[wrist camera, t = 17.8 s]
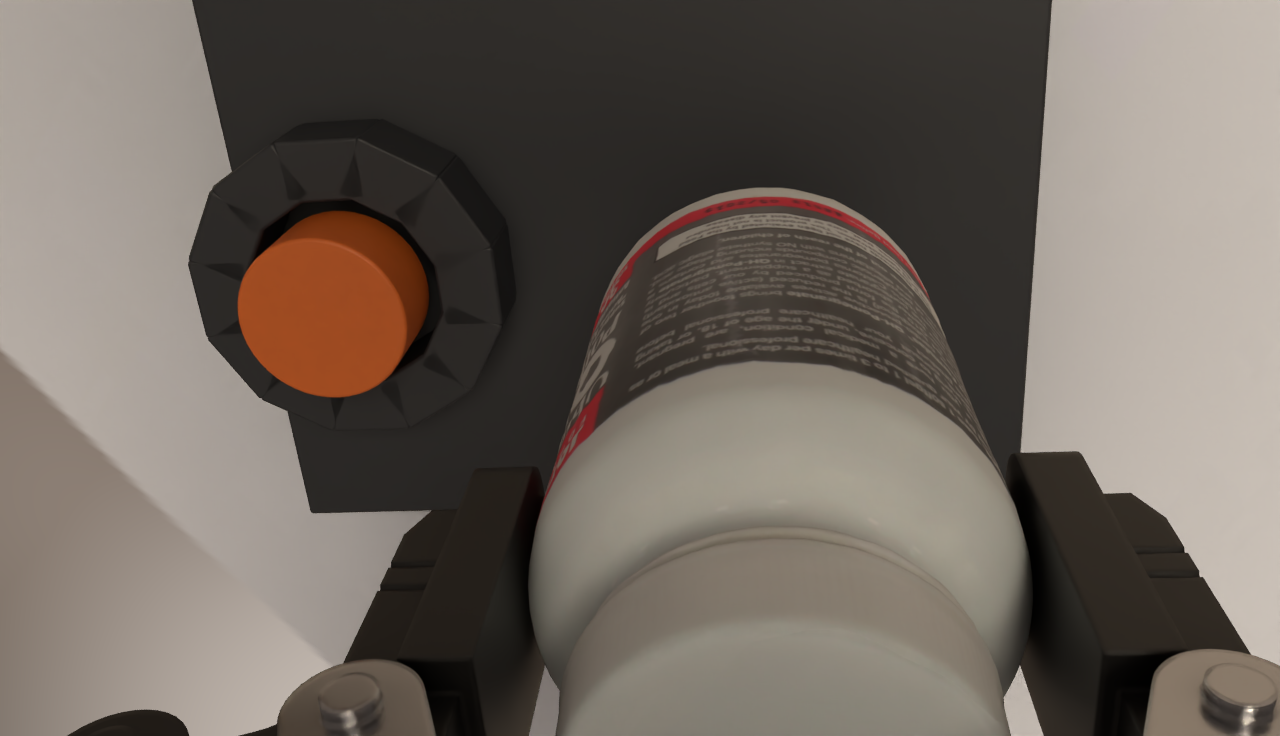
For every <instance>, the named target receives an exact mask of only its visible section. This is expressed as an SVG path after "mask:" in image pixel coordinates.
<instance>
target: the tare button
mask: <svg viewBox="0 0 1280 736" xmlns="http://www.w3.org/2000/svg"><path fill="white" fill-rule="evenodd" d="M428 306H429V289H428V282H427V278H426V274H425V272H424V269H423V266H422V264H421V262H420V260H419V258H418V257H417V255H416V253H415V252H414V251H413V249H412V248H411V246H410V245H409V244H408V243H407V242H406V241H405V240H404V238H402V237H401V236H400V235H399V234H398V233H397V232H396V231H394V230H393V229H392V228H390V227H389V226H387V225H386V224H384V223H382V222H380V221H378V220H377V219H374V218H372V217H369V216H367V215H363V214H359V213H356V212H349V211H328V212H322V213H318V214H314V215H312V216H309V217H307V218H305V219H303V220H301V221H300V222H298V223H296V224H295V225H294V226H293V227H291V228H290V229H289V230H288V231H287V232H286V233H284V234H283V235H282V236H281V237H280V238H279V239H278V240H276V241H275V242H274V243H273V244H272V245H271V246H270V247H268V248H267V249H266V250H265V251H264V252H263V253H262V254H261V255H259V256H258V257H257V258H256V259H255V260H254V262H253V263H252V264H251V265H250V267H249V268H248V270H247V271H246V273H245V275H244V277H243V280H242V282H241V285H240V289H239V294H238V317H239V323H240V327H241V330H242V333H243V336H244V338H245V340H246V343H247V345H248V346H249V348H250V350H251V351H252V353H253V354H254V356H255V357H256V358H257V360H258V361H259V362H260V363H261V364H262V365H263V366H264V367H265V368H266V369H267V370H268V371H269V372H270V373H271V374H272V375H274V376H275V377H276V378H277V379H279V380H281V381H282V382H284V383H285V384H287V385H289V386H291V387H293V388H295V389H297V390H300V391H302V392H305V393H308V394H312V395H316V396H322V397H347V396H352V395H357V394H360V393H363V392H366V391H368V390H370V389H372V388H374V387H376V386H378V385H379V384H380V383H382V382H383V381H384V380H386V379H387V378H388V377H389V376H390V375H391V374H392V372H393V371H394V370H395V368H396V367H397V366H398V364H399V363H400V361H401V359H402V358H403V356H404V355H405V353H406V352H407V350H408V349H409V347H410V345H411V344H412V342H413V341H414V339H415V338H416V336H417V335H418V333H419V331H420V330H421V328H422V326H423V324H424V321H425V318H426V315H427V311H428Z"/></svg>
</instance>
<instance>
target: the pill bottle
mask: <svg viewBox="0 0 1280 736" xmlns="http://www.w3.org/2000/svg"><path fill="white" fill-rule="evenodd" d="M528 593H529V609H530V615H531V619H532V624H533V629H534V634H535V638H536V641H537V644H538V647H539V650H540V653H541V656H542V658H543V661H544V663H545V665H546V667H547V670H548V672H549V674H550V676H551V678H552V679H553V681H554V683H555V684H556V686H557V688H558V689H559V691H560V697H559V717H558V723H557V729H556V736H1011V734H1010V730H1009V726H1008V722H1007V718H1006V713H1005V709H1004V699H1003V698H1004V696H1005V694H1006V692H1007V691H1008V689H1009V687H1010V685H1011V683H1012V681H1013V679H1014V677H1015V675H1016V673H1017V670H1018V668H1019V666H1020V663H1021V660H1022V658H1023V655H1024V651H1025V647H1026V644H1027V640H1028V637H1029V631H1030V625H1031V619H1032V608H1033V579H1032V569H1031V561H1030V555H1029V551H1028V546H1027V543H1026V539H1025V536H1024V533H1023V529H1022V526H1021V523H1020V520H1019V516H1018V513H1017V509H1016V506H1015V503H1014V501H1013V499H1012V497H1011V494H1010V492H1009V490H1008V488H1007V485H1006V483H1005V481H1004V478H1003V476H1002V474H1001V472H1000V469H999V467H998V464H997V462H996V460H995V458H994V457H993V454H992V452H991V450H990V447H989V445H988V443H987V440H986V438H985V435H984V433H983V431H982V428H981V426H980V424H979V421H978V419H977V417H976V414H975V412H974V409H973V407H972V404H971V402H970V399H969V397H968V394H967V392H966V389H965V386H964V384H963V381H962V378H961V375H960V372H959V368H958V366H957V363H956V361H955V358H954V356H953V354H952V351H951V349H950V347H949V345H948V343H947V340H946V337H945V334H944V332H943V330H942V328H941V325H940V322H939V319H938V317H937V314H936V312H935V310H934V308H933V305H932V303H931V301H930V299H929V296H928V294H927V291H926V289H925V287H924V286H923V284H922V282H921V280H920V278H919V276H918V274H917V272H916V271H915V269H914V267H913V266H912V264H911V262H910V261H909V259H908V258H907V256H906V254H905V253H904V252H903V251H902V250H901V249H900V248H899V247H898V246H897V245H896V243H895V242H894V241H893V240H892V239H891V238H890V237H889V236H888V235H887V234H886V233H885V232H884V231H883V230H882V229H880V228H879V227H878V226H877V225H875V224H874V223H873V222H871V221H870V220H868V219H867V218H865V217H864V216H862V215H861V214H859V213H857V212H855V211H854V210H852V209H850V208H848V207H847V206H845V205H843V204H841V203H839V202H837V201H835V200H833V199H829V198H826V197H822V196H819V195H815V194H811V193H807V192H803V191H799V190H795V189H787V188H749V189H740V190H735V191H730V192H725V193H720V194H716V195H713V196H710V197H708V198H705V199H703V200H700V201H698V202H695V203H693V204H690V205H688V206H686V207H684V208H682V209H680V210H678V211H676V212H674V213H673V214H671V215H670V216H668V217H667V218H665V219H664V220H662V221H661V222H660V223H658V224H657V225H656V226H655V227H654V228H653V229H651V230H650V231H649V232H648V233H646V234H645V235H644V236H643V237H642V238H641V239H640V240H639V241H638V242H637V243H636V245H635V246H634V247H633V248H632V250H631V251H630V252H629V254H628V255H627V256H626V258H625V259H624V260H623V262H622V263H621V265H620V266H619V267H618V269H617V271H616V273H615V275H614V277H613V278H612V280H611V282H610V284H609V287H608V289H607V291H606V293H605V296H604V298H603V301H602V303H601V306H600V310H599V314H598V316H597V319H596V322H595V325H594V329H593V332H592V336H591V339H590V342H589V345H588V349H587V353H586V357H585V360H584V364H583V368H582V371H581V375H580V379H579V382H578V385H577V389H576V393H575V396H574V400H573V404H572V407H571V410H570V413H569V416H568V420H567V424H566V428H565V431H564V434H563V437H562V440H561V442H560V446H559V450H558V454H557V458H556V462H555V465H554V468H553V471H552V474H551V477H550V480H549V483H548V486H547V490H546V493H545V496H544V500H543V503H542V506H541V510H540V513H539V517H538V520H537V524H536V529H535V534H534V540H533V546H532V551H531V557H530V563H529V576H528Z"/></svg>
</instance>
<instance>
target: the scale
mask: <svg viewBox="0 0 1280 736" xmlns="http://www.w3.org/2000/svg"><path fill="white" fill-rule="evenodd" d="M192 2H193V6H194V10H195V15H196V19H197V23H198V28H199V32H200V36H201V41H202V45H203V49H204V54H205V58H206V62H207V66H208V71H209V75H210V79H211V84H212V88H213V92H214V97H215V101H216V105H217V110H218V114H219V118H220V123H221V127H222V131H223V135H224V140H225V144H226V148H227V153H228V157H229V161H230V166H231V170H232V172H231V173H230V174H229V175H227V176H226V177H225V178H223V179H222V180H221V181H219V182H218V183H217V184H215V185H214V186H213V188H212V190H211V191H210V192H209V195H208V198H207V202H206V205H205V208H204V211H203V214H202V217H201V221H200V224H199V227H198V230H197V233H196V236H195V240H194V243H193V246H192V249H191V252H190V255H189V262H188V266H189V270H190V274H191V278H192V282H193V286H194V290H195V293H196V297H197V301H198V305H199V309H200V313H201V317H202V321H203V324H204V328H205V332H206V335H207V337H208V340H209V341H210V342H211V344H212V345H213V346H214V347H215V348H216V349H217V350H218V352H219V353H220V354H221V355H222V356H223V357H224V358H225V359H226V361H227V362H228V363H229V364H230V365H231V366H232V367H233V369H234V370H235V371H236V372H237V373H238V374H239V375H240V376H241V378H242V379H243V380H244V381H245V382H246V383H247V384H248V386H249V387H250V388H251V389H252V390H253V391H254V392H255V394H256V395H257V396H258V397H259V398H262V400H264V401H266V402H268V403H270V404H273V405H275V406H277V407H279V408H282V409H284V410H286V411H288V416H289V420H290V424H291V428H292V433H293V437H294V441H295V446H296V450H297V454H298V459H299V463H300V467H301V472H302V476H303V480H304V485H305V489H306V493H307V497H308V502H309V506H310V510H311V512H312V513H342V512H381V511H420V510H449V509H458V508H459V505H460V503H461V500H462V498H463V496H464V493H465V491H466V488H467V486H468V483H469V481H470V479H471V476H472V474H473V472H474V470H475V469H476V468H495V467H528V466H536V467H538V469H539V471H540V474H541V477H542V482H543V489H544V496H545V493H546V490H547V486H548V483H549V480H550V477H551V474H552V471H553V468H554V465H555V462H556V458H557V454H558V450H559V446H560V442H561V440H562V437H563V434H564V431H565V428H566V424H567V420H568V416H569V413H570V410H571V407H572V404H573V400H574V396H575V393H576V389H577V385H578V382H579V379H580V375H581V371H582V368H583V364H584V360H585V357H586V353H587V349H588V345H589V342H590V339H591V336H592V332H593V329H594V325H595V322H596V319H597V316H598V314H599V310H600V306H601V303H602V301H603V298H604V296H605V293H606V291H607V289H608V287H609V284H610V282H611V280H612V278H613V277H614V275H615V273H616V271H617V269H618V267H619V266H620V265H621V263H622V262H623V260H624V259H625V258H626V256H627V255H628V254H629V252H630V251H631V250H632V248H633V247H634V246H635V245H636V243H637V242H638V241H639V240H640V239H641V238H642V237H643V236H644V235H645V234H646V233H648V232H649V231H650V230H651V229H653V228H654V227H655V226H656V225H657V224H658V223H660V222H661V221H662V220H664V219H665V218H667V217H668V216H670V215H671V214H673V213H674V212H676V211H678V210H680V209H682V208H684V207H686V206H688V205H690V204H693V203H695V202H698V201H700V200H703V199H705V198H708V197H710V196H713V195H716V194H720V193H725V192H730V191H735V190H740V189H749V188H787V189H795V190H799V191H803V192H807V193H811V194H815V195H819V196H822V197H826V198H829V199H833V200H835V201H837V202H839V203H841V204H843V205H845V206H847V207H848V208H850V209H852V210H854V211H855V212H857V213H859V214H861V215H862V216H864V217H865V218H867V219H868V220H870V221H871V222H873V223H874V224H875V225H877V226H878V227H879V228H880V229H882V230H883V231H884V232H885V233H886V234H887V235H888V236H889V237H890V238H891V239H892V240H893V241H894V242H895V243H896V245H897V246H898V247H899V248H900V249H901V250H902V251H903V252H904V253H905V254H906V256H907V258H908V259H909V261H910V262H911V264H912V266H913V267H914V269H915V271H916V272H917V274H918V276H919V278H920V280H921V282H922V284H923V286H924V287H925V289H926V291H927V294H928V296H929V299H930V301H931V303H932V305H933V308H934V310H935V312H936V314H937V317H938V319H939V322H940V325H941V328H942V330H943V332H944V334H945V337H946V340H947V343H948V345H949V347H950V349H951V351H952V354H953V356H954V358H955V361H956V363H957V366H958V368H959V372H960V375H961V378H962V381H963V384H964V386H965V389H966V392H967V394H968V397H969V399H970V402H971V404H972V407H973V409H974V412H975V414H976V417H977V419H978V421H979V424H980V426H981V428H982V431H983V433H984V435H985V438H986V440H987V443H988V445H989V447H990V450H991V452H992V454H993V457H994V458H995V460H996V462H997V464H998V467H999V469H1000V472H1001V474H1002V476H1003V478H1004V481H1005V479H1006V468H1007V462H1008V459H1009V456H1010V455H1011V454H1012V453H1020V451H1021V437H1022V422H1023V408H1024V394H1025V380H1026V365H1027V351H1028V337H1029V322H1030V308H1031V294H1032V279H1033V265H1034V251H1035V236H1036V222H1037V208H1038V193H1039V179H1040V165H1041V150H1042V136H1043V122H1044V107H1045V93H1046V79H1047V64H1048V50H1049V36H1050V21H1051V7H1052V0H192ZM328 211H349V212H356V213H359V214H363V215H367V216H369V217H372V218H374V219H377V220H378V221H380V222H382V223H384V224H386V225H387V226H389V227H390V228H392V229H393V230H394V231H396V232H397V233H398V234H399V235H400V236H401V237H402V238H404V240H405V241H406V242H407V243H408V244H409V245H410V246H411V248H412V249H413V251H414V252H415V253H416V255H417V257H418V258H419V260H420V262H421V264H422V266H423V269H424V272H425V274H426V278H427V282H428V289H429V306H428V311H427V315H426V318H425V321H424V324H423V326H422V328H421V330H420V331H419V333H418V335H417V336H416V338H415V339H414V341H413V342H412V344H411V345H410V347H409V349H408V350H407V352H406V353H405V355H404V356H403V358H402V359H401V361H400V363H399V364H398V366H397V367H396V368H395V370H394V371H393V372H392V374H391V375H390V376H389V377H388V378H387V379H386V380H384V381H383V382H382V383H380V384H379V385H378V386H376V387H374V388H372V389H370V390H368V391H366V392H363V393H360V394H357V395H352V396H347V397H322V396H316V395H312V394H308V393H305V392H302V391H300V390H297V389H295V388H293V387H291V386H289V385H287V384H285V383H284V382H282V381H281V380H279V379H277V378H276V377H275V376H274V375H272V374H271V373H270V372H269V371H268V370H267V369H266V368H265V367H264V366H263V365H262V364H261V363H260V362H259V361H258V360H257V358H256V357H255V356H254V354H253V353H252V351H251V350H250V348H249V346H248V345H247V343H246V340H245V338H244V336H243V333H242V330H241V327H240V323H239V317H238V294H239V289H240V285H241V282H242V280H243V277H244V275H245V273H246V271H247V270H248V268H249V267H250V265H251V264H252V263H253V262H254V260H255V259H256V258H257V257H258V256H259V255H261V254H262V253H263V252H264V251H265V250H266V249H267V248H268V247H270V246H271V245H272V244H273V243H274V242H275V241H276V240H278V239H279V238H280V237H281V236H282V235H283V234H284V233H286V232H287V231H288V230H289V229H290V228H291V227H293V226H294V225H295V224H296V223H298V222H300V221H301V220H303V219H305V218H307V217H309V216H312V215H314V214H318V213H322V212H328Z"/></svg>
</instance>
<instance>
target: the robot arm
mask: <svg viewBox="0 0 1280 736" xmlns="http://www.w3.org/2000/svg"><path fill="white" fill-rule="evenodd" d="M1005 483H1006V485H1007V488H1008V490H1009V492H1010V494H1011V497H1012V499H1013V501H1014V503H1015V506H1016V509H1017V513H1018V516H1019V520H1020V523H1021V526H1022V529H1023V533H1024V536H1025V539H1026V543H1027V546H1028V551H1029V555H1030V561H1031V569H1032V579H1033V608H1032V619H1031V625H1030V631H1029V637H1028V640H1027V644H1026V647H1025V651H1024V655H1023V658H1022V660H1021V663H1020V666H1021V669H1022V672H1023V675H1024V678H1025V681H1026V684H1027V687H1028V690H1029V693H1030V696H1031V699H1032V702H1033V705H1034V708H1035V711H1036V714H1037V717H1038V720H1039V723H1040V726H1041V729H1042V732H1043V735H1044V736H1280V666H1279V665H1277V664H1275V663H1272V662H1270V661H1268V660H1265V659H1262V658H1259V657H1257V656H1253V655H1251V654H1250V652H1249V651H1248V649H1247V647H1246V646H1245V644H1244V643H1243V641H1242V639H1241V638H1240V636H1239V635H1238V633H1237V631H1236V630H1235V628H1234V626H1233V625H1232V623H1231V622H1230V620H1229V618H1228V617H1227V615H1226V614H1225V612H1224V610H1223V609H1222V607H1221V606H1220V604H1219V602H1218V601H1217V599H1216V597H1215V596H1214V594H1213V593H1212V591H1211V589H1210V588H1209V586H1208V585H1207V583H1206V581H1205V580H1204V578H1203V577H1200V576H1199V570H1198V568H1197V567H1196V565H1195V564H1194V562H1193V560H1192V559H1191V557H1190V556H1189V554H1188V553H1185V552H1184V546H1183V544H1182V543H1181V541H1180V540H1179V538H1178V536H1177V535H1176V533H1175V531H1174V530H1173V528H1172V527H1171V525H1170V523H1169V522H1168V520H1167V519H1166V518H1165V517H1164V516H1163V515H1161V514H1160V513H1158V512H1157V511H1156V510H1154V509H1153V508H1151V507H1150V506H1149V505H1147V504H1146V503H1144V502H1143V501H1141V500H1140V499H1139V498H1137V497H1136V496H1134V495H1133V494H1132V493H1115V494H1103V492H1102V490H1101V489H1100V487H1099V485H1098V483H1097V481H1096V479H1095V478H1094V476H1093V474H1092V472H1091V470H1090V468H1089V467H1088V465H1087V463H1086V461H1085V459H1084V458H1083V456H1082V455H1081V453H1079V452H1077V451H1072V452H1038V453H1012V454H1011V455H1010V456H1009V459H1008V462H1007V468H1006V479H1005ZM543 500H544V489H543V482H542V477H541V474H540V471H539V469H538V467H536V466H528V467H495V468H476V469H475V470H474V472H473V474H472V476H471V479H470V481H469V483H468V486H467V488H466V491H465V493H464V496H463V498H462V500H461V503H460V505H459V508H458V509H449V510H432V511H431V512H430V513H429V514H427V515H426V516H425V517H424V518H423V519H422V520H421V521H419V522H418V523H417V524H416V525H415V526H414V527H412V528H411V529H410V530H409V531H408V532H407V533H406V534H404V536H403V538H402V540H401V542H400V545H399V547H398V549H397V551H396V553H395V555H394V557H393V559H392V561H391V568H388V570H387V572H386V574H385V576H384V578H383V580H382V583H381V585H380V591H377V593H376V595H375V597H374V599H373V601H372V604H371V606H370V608H369V610H368V612H367V614H366V616H365V618H364V620H363V623H362V625H361V627H360V629H359V631H358V633H357V635H356V637H355V639H354V642H353V644H352V646H351V648H350V650H349V652H348V654H347V656H346V658H345V661H344V663H343V664H340V665H337V666H333V667H331V668H329V669H326V670H324V671H322V672H320V673H318V674H316V675H315V676H313V677H311V678H310V679H308V680H307V681H306V682H304V683H303V684H301V685H300V686H299V687H298V688H297V689H296V690H295V691H294V692H293V693H292V694H291V695H290V696H289V697H288V699H287V700H286V701H285V703H284V705H283V706H282V708H281V710H280V713H279V716H278V720H277V724H276V725H274V726H271V727H269V728H266V729H263V730H259V731H256V732H252V733H248V734H244V735H240V736H529V732H530V727H531V723H532V719H533V714H534V710H535V706H536V701H537V697H538V693H539V688H540V684H541V680H542V675H543V671H544V667H545V663H544V661H543V658H542V656H541V653H540V650H539V647H538V644H537V641H536V638H535V634H534V629H533V624H532V619H531V615H530V609H529V593H528V576H529V563H530V557H531V551H532V546H533V540H534V534H535V529H536V524H537V520H538V517H539V513H540V510H541V506H542V503H543ZM68 736H189V734H188V730H187V728H186V726H185V725H184V723H183V722H182V721H181V720H179V719H178V718H177V717H176V716H173V715H171V714H169V713H166V712H162V711H158V710H134V711H127V712H121V713H118V714H114V715H110V716H107V717H104V718H101V719H99V720H96V721H94V722H92V723H90V724H87V725H85V726H83V727H81V728H79V729H78V730H76V731H75V732H73V733H71V734H69V735H68Z"/></svg>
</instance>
